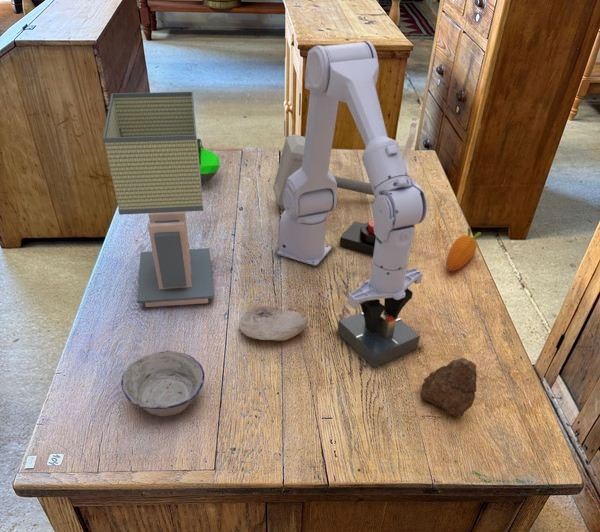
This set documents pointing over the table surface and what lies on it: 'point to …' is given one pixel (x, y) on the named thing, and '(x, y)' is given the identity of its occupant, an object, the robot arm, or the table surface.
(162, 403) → the bowl
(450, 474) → the table surface
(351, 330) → the panel
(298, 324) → the fossil
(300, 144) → the hammer
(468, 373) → the rock
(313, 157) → the robot arm
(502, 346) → the table surface
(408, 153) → the decorative finial
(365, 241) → the button box
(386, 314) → the silver block
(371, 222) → the red button
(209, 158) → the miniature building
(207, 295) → the desk lamp
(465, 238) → the carrot
